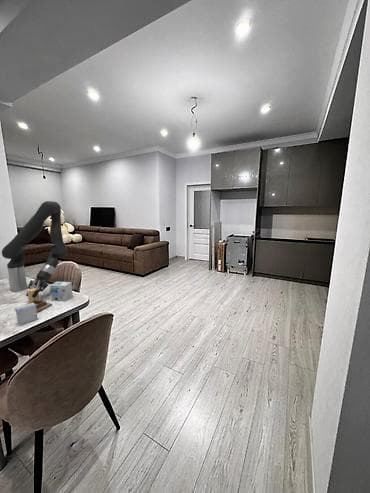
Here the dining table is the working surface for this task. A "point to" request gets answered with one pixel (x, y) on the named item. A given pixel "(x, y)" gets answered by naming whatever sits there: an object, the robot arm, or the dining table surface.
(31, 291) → the ochre post
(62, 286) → the light bulb box
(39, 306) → the walnut dock
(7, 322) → the dining table surface
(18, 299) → the dining table surface
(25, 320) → the medicine box
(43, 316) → the dining table surface
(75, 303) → the dining table surface
